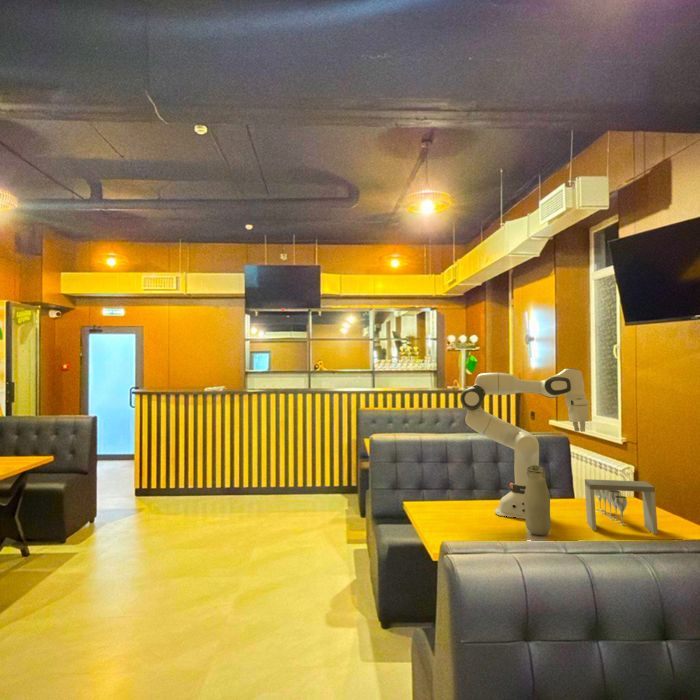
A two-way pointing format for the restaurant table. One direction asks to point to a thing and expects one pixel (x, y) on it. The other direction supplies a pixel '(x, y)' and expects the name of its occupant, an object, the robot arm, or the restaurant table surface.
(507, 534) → the restaurant table surface
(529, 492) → the grey bottle
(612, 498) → the goblet set
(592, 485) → the low table
